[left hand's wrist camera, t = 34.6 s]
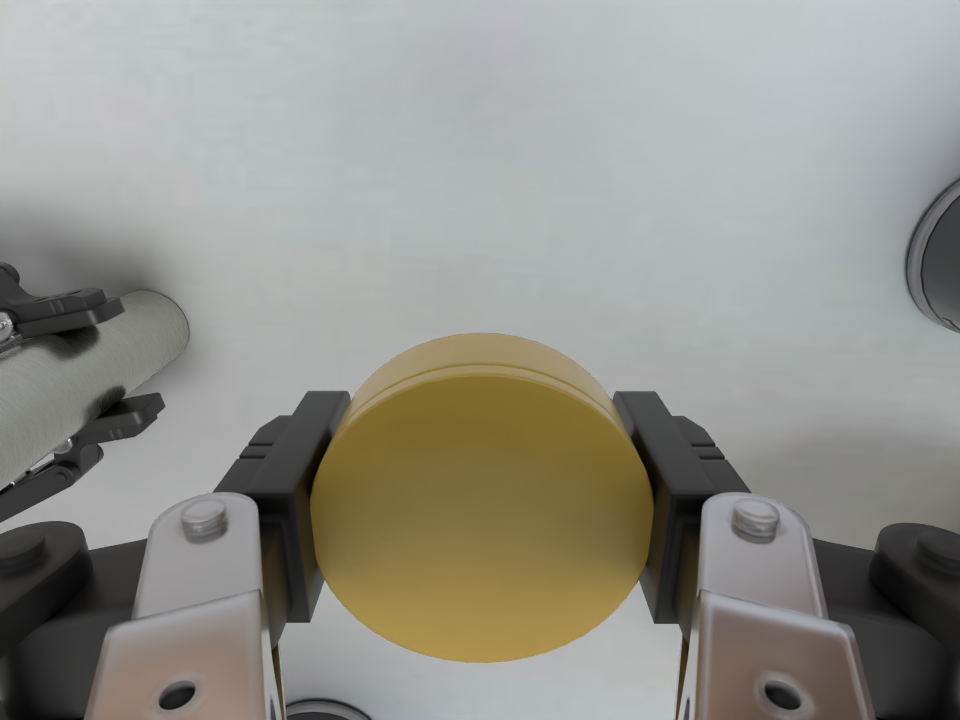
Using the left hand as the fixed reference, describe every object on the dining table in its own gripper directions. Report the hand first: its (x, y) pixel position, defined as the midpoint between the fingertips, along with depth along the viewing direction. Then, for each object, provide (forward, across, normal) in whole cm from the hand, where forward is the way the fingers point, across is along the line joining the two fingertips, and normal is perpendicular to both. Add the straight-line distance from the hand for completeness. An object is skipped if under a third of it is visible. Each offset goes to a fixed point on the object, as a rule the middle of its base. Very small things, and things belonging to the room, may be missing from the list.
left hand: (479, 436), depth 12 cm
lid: (-3, 0, 0) cm, 3 cm away
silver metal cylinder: (+23, +19, +5) cm, 30 cm away
